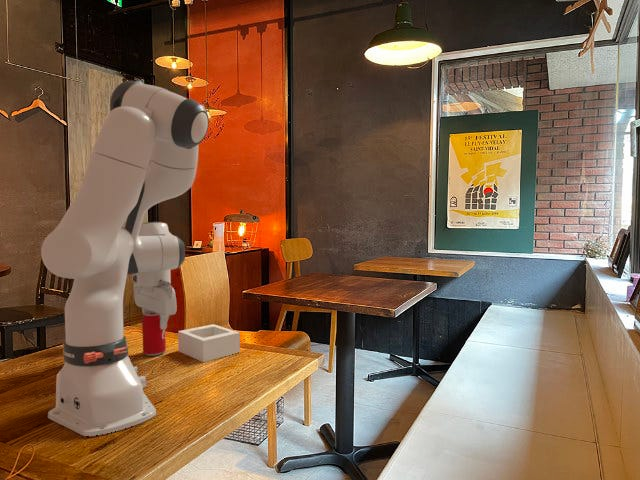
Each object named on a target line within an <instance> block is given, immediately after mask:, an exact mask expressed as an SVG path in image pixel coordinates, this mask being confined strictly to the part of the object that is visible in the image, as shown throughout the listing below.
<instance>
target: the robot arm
mask: <svg viewBox="0 0 640 480" xmlns="http://www.w3.org/2000/svg"><path fill="white" fill-rule="evenodd" d="M109 110H110V112H109V113H108V115H107V116H106V119H105V121H104V122H103V124H102V126H101V128H100V130H99V133H98V135H97V136H96V140H95V142H94V145H93V148H92V151H91V154H90V157H89V160H88V163H87V166H86V168H85V169H86V170H85V173H84V174H83V175H84V176H83V178H82V181H81V184H80V186H79V189H78V191H77V192H76V195H75V196H74V197H73V200H72V202H71V203H70V204H69V207H68V208H67V210H66V212H65V213H64V215H63V217H62V218H61V221H59V223H58V224H57V226H56V227H55V228H54V229H53V230H52V231H51V232H50V233H49V234H48V235H47V236H46V237H45V239H44V240H43V242H42V244H41V250H40V251H41V252H40V253H41V254H40V255H41V260H42V262H43V265H44V266H45V267H46V269H47V270H48V271H49V272H50V273H52V274H53V275H55V276H57V277H59V278H65V279H69V280H71V279H72V280H73V281H72V288H71V290H70V294H69V296H68V298H67V299H66V301H65V305H64V311H65V319H64V323H65V325H64V326H65V329H64V330H65V342H64V343H63V349H62V353H63V360H64V362H65V363H64V364H63V366H62V368H61V369H60V370H59V371H58V373H57V374H56V380H55V381H56V383H55V384H56V385H55V386H56V387H55V407H53V408H52V409H50V410H49V411H48V413H47V418H48V419H49V420H51V421H52V422H55V423H57V424H58V425H61V426H63V427H65V428H67V429H69V430H70V431H73V432H74V433H77V434H79V435H81V436H83V437H86V436H89V437H97V436H96V435H98V436H103V435H106V434H107V433H108V434H111V432H112V433H115V431H116V432H119V431H123V430H125V428H126V429H128V428H131V426H132V427H134V426H137V425H140V424H142V423H144V422H146V421H149V420H150V419H151V418H152V419H153V417H155V416H156V415H157V409H156V408H155V406H154V404H152V402H151V401H150V400H149V398H148V397H147V395H146V394H145V392H144V388H145V387H146V386H147V378H146V376H145V375H141V376H139V375H138V366H134V365H133V363H132V362H131V359H130V357H129V356H128V355H129V350H128V347H129V346H128V342H127V339H126V336H125V334H124V295H125V287H126V283H127V277H128V275H132V276H131V281H132V283H133V297H134V303H135V305H136V306H137V307H139V308H141V311H142V314H143V316H144V313H145V312H149V311H153V312H156V313H158V314H160V318H161V319H160V322H159V328H160V329H165V330H166V329H167V327H168V320H169V318H170V316H173V315H176V313H177V311H178V310H177V307H178V305H177V297H176V291H175V289H174V287H173V286H172V285H171V283H172V281H171V280H172V279H171V277H172V275H171V271H173V270H176V269H178V268H180V266H181V265H183V263H184V261H185V260H186V247H185V242H184V241H183V240H182V239H181V238H180V237H179V236H177V235H173V234H172V233H171V232H170V231H169V225H168V223H165V222H164V221H163V222H162V221H150V222H149V221H148V222H144V223H143V220H144V217H145V214H146V213H147V211H148V210H149V209H151V208H152V207H153V206H155V205H157V204H159V203H162V202H164V201H167V200H171V199H174V198H177V197H179V196H181V195H183V194H185V193H186V192H187V191H189V190H190V189H191V188H192V186H193V184H194V182H195V178H196V175H197V170H198V162H199V147H200V146H199V144H201V143H202V142H203V141H204V139H205V138H206V136H207V133H208V130H209V124H210V123H209V121H210V120H209V118H210V117H209V115H208V112H207V110H206V108H205V106H204V105H203V104H202V103H200V102H198V101H196V100H194V99H192V98H187V97H185V96H182V95H180V94H178V93H176V92H172V91H170V90H168V89H167V88H163V87H160V86H156V85H151V84H147V83H146V84H145V83H143V82H141V81H137V80H125V81H122V82H121V83H119V84H118V85H117V86H116V87H115V88H114V89H113V91H112V93H111V96H110V100H109ZM102 434H103V435H102ZM108 434H107V435H108Z"/></svg>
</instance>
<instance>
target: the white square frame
mask: <svg viewBox="0 0 640 480" xmlns="http://www.w3.org/2000/svg"><path fill="white" fill-rule="evenodd" d="M177 332H178V333H177V337H178V338H177V339H178V341H177V342H178V343H177V344H178V347H177V348H178V352H179V353H182V354H184V355H186V356H188V357H191V358H193V359H196V360H197V361H199V362H202V363H207V362H211V361H215V360H218V359H222V358H226V357H230V356H233V355H232V354H234V355H236V354H235V353H238V352H240V353H241V341H240V340H241V335H240V334H241V333H240V332H239V331H235V330H233V329H230V328H226V327H223V326H221V325H217V324H213V323H212V324H208V325H203V326H198V327H192V328H188V329H183V330H178V331H177ZM238 354H239V353H238ZM229 355H230V356H229ZM225 356H226V357H225ZM221 357H222V358H221ZM214 359H215V360H214Z"/></svg>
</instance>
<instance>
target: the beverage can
mask: <svg viewBox="0 0 640 480" xmlns="http://www.w3.org/2000/svg"><path fill="white" fill-rule="evenodd" d="M160 319H161V318H160V314H158V313H156V312H153V311H149V312H145V313H144V315H143V316H142V319H141V324H142V325H141V327H142V329H141V331H142V332H141V333H142V352H143V354H144V355H145V356H149V357H150V356H151V357H156V356H160V355H162V354H164V353H165V352H166V349H167V347H166V343H167V342H166V329H160V328H159V322H160Z"/></svg>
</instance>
